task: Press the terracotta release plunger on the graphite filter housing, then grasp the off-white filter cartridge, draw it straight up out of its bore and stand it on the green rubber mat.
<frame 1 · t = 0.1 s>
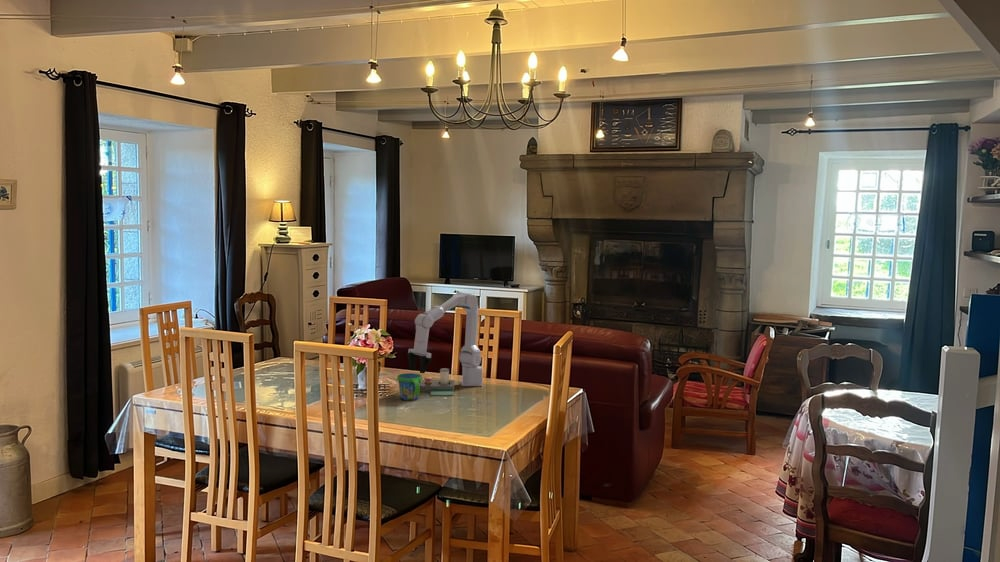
hand: (417, 371, 325), 10 cm above the table, tool pointing down, fingers open, 7 cm apart
mat: (442, 394, 328), on the table
housing: (437, 388, 339), on the table
cartridge: (444, 388, 339), resting in housing
snack cup: (409, 399, 319), on the table
plunger: (428, 381, 338), point 4 cm above the table, slide at 0.0 cm
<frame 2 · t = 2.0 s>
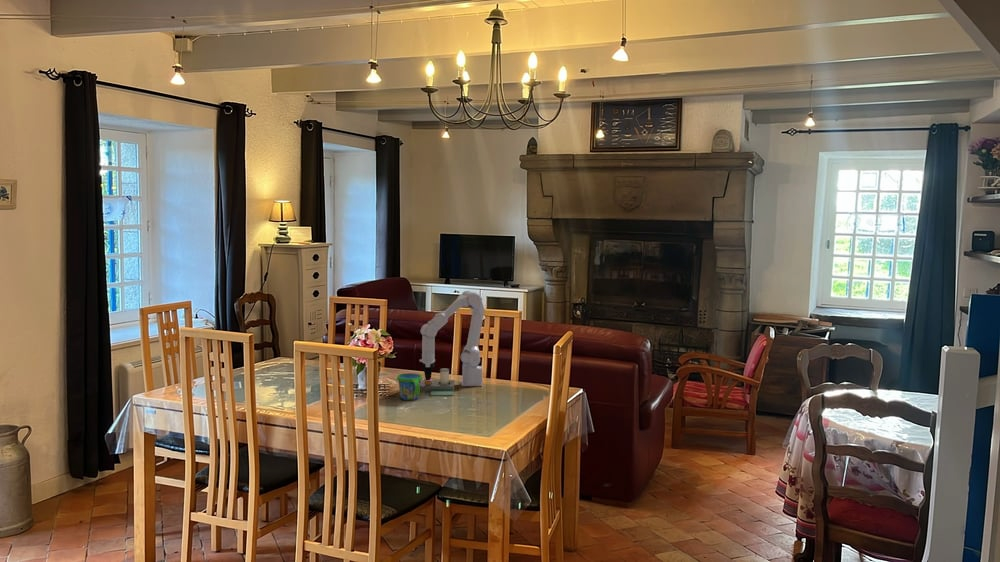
hand: (428, 379, 338), 4 cm above the table, tool pointing down, fingers closed, pressing on plunger
plunger: (428, 382, 338), point 3 cm above the table, slide at 0.8 cm, touching gripper
everything else where it was.
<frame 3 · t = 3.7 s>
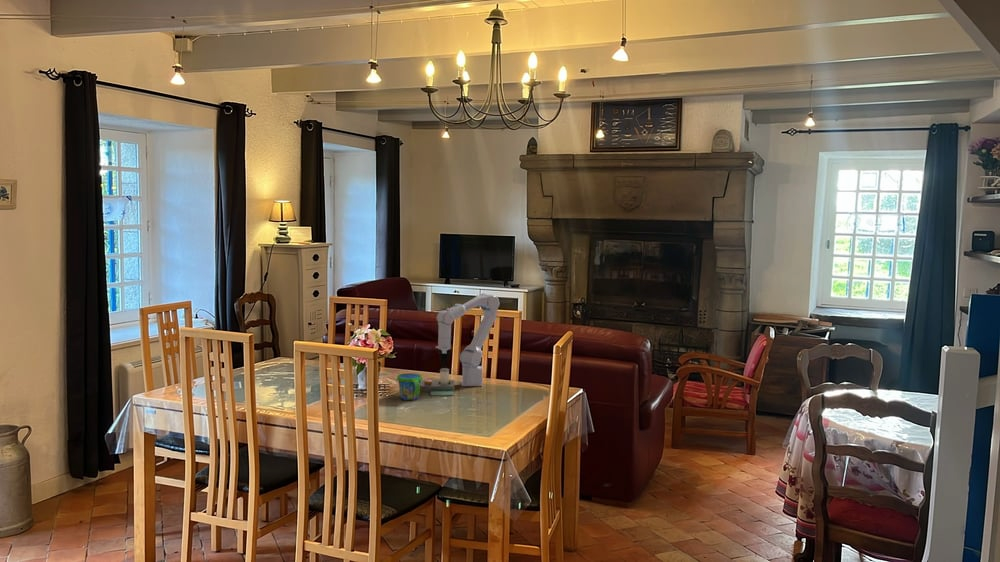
hand: (443, 366, 338), 10 cm above the table, tool pointing down, fingers open, 4 cm apart
plunger: (428, 383, 338), point 2 cm above the table, slide at 1.3 cm
everything else where it was.
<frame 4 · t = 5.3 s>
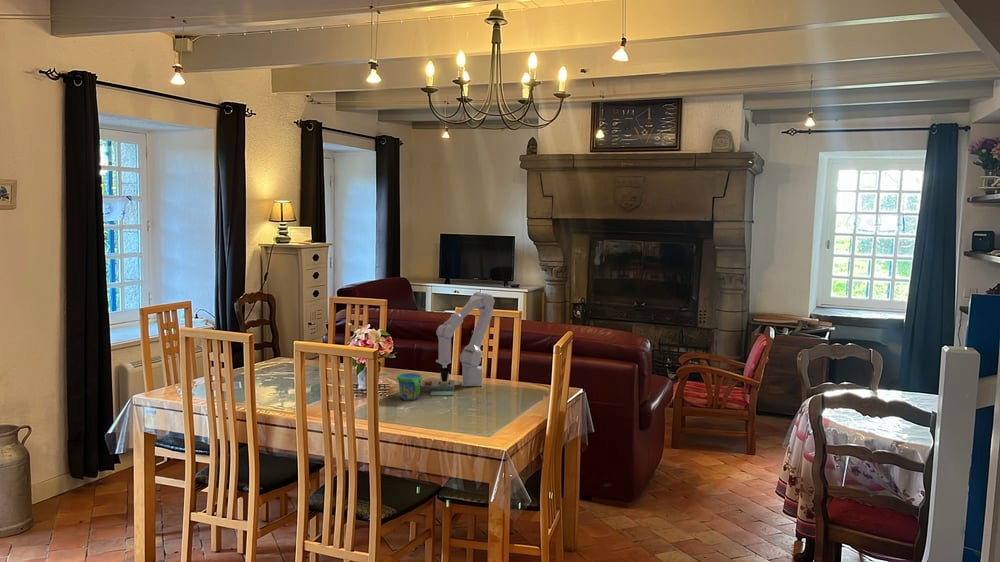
hand: (444, 380, 338), 4 cm above the table, tool pointing down, fingers closed on cartridge, 4 cm apart
cartridge: (444, 388, 339), resting in housing, touching gripper
everything else where it was.
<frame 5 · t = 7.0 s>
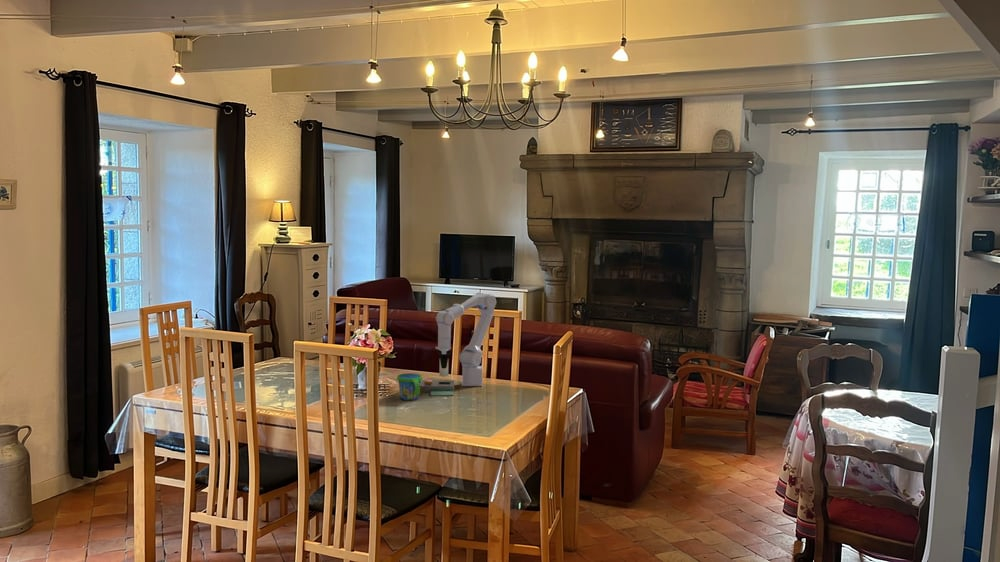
hand: (444, 367, 336), 10 cm above the table, tool pointing down, fingers closed on cartridge, 4 cm apart
cartridge: (443, 375, 336), point 7 cm above the table, touching gripper
everything else where it was.
when the fingers open (6 cm above the table, at t = 8.9 s): cartridge stays where it is, resting on mat.
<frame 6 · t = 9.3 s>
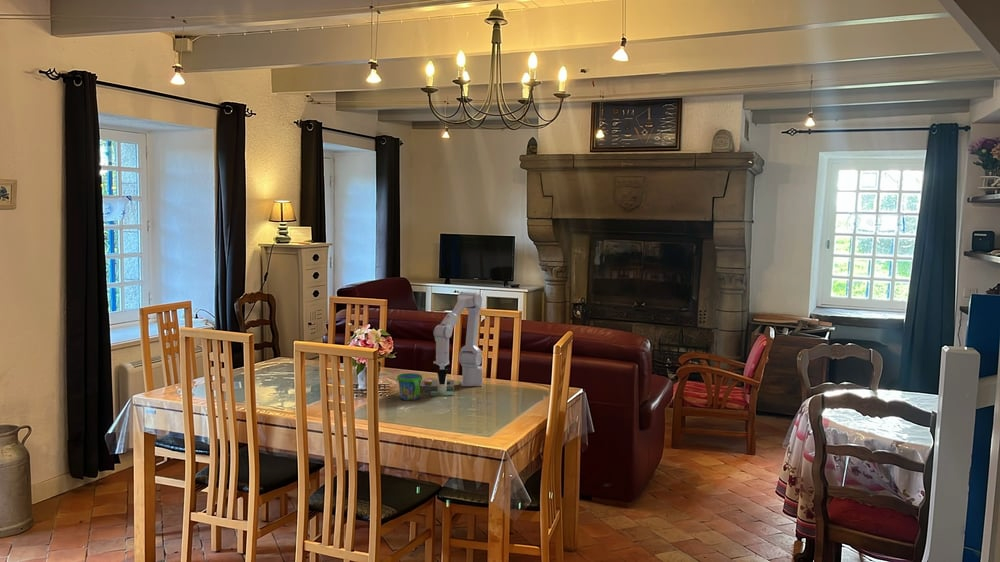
hand: (442, 382, 327), 6 cm above the table, tool pointing down, fingers open, 7 cm apart
cartridge: (441, 393, 328), point 1 cm above the table, touching mat
everything else where it was.
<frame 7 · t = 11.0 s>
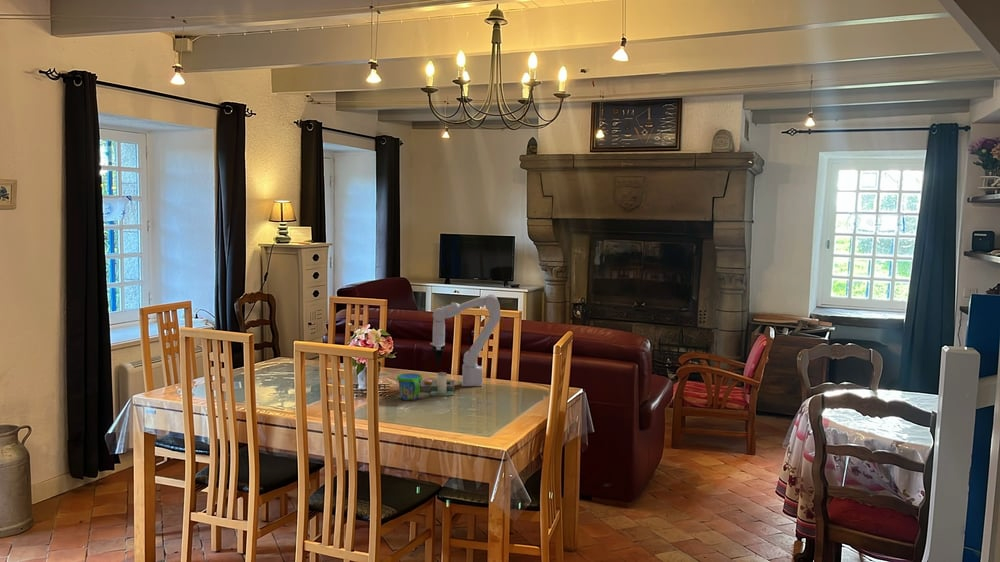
hand: (438, 362, 346), 10 cm above the table, tool pointing down, fingers open, 7 cm apart
nothing on the table moved.
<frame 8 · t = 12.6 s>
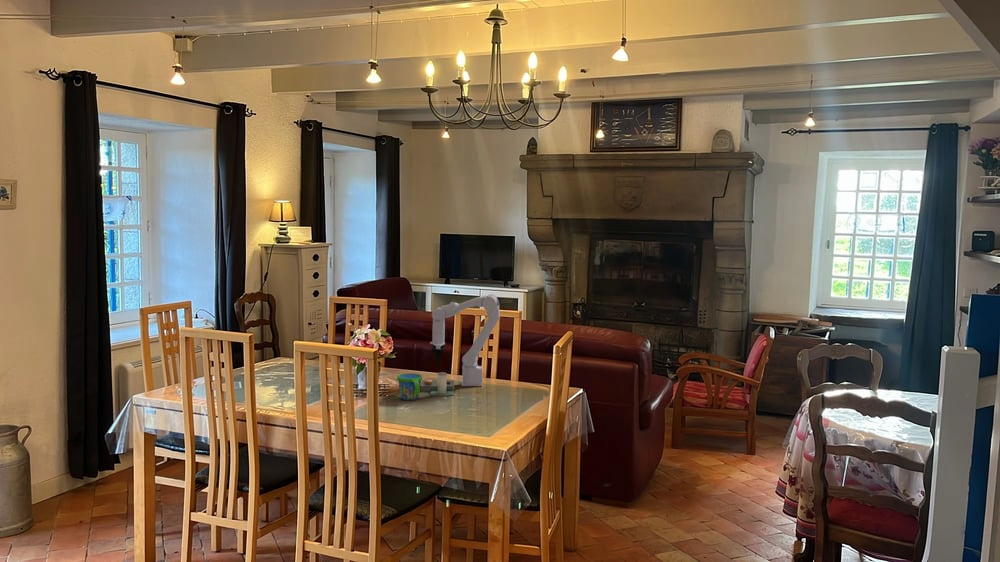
hand: (438, 361, 349), 10 cm above the table, tool pointing down, fingers open, 7 cm apart
nothing on the table moved.
at the end: plunger slide at 1.3 cm; cartridge inside the target area on the mat (0.1 cm from its centre), point 0.6 cm above the mat's base; cartridge tilted 0° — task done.
